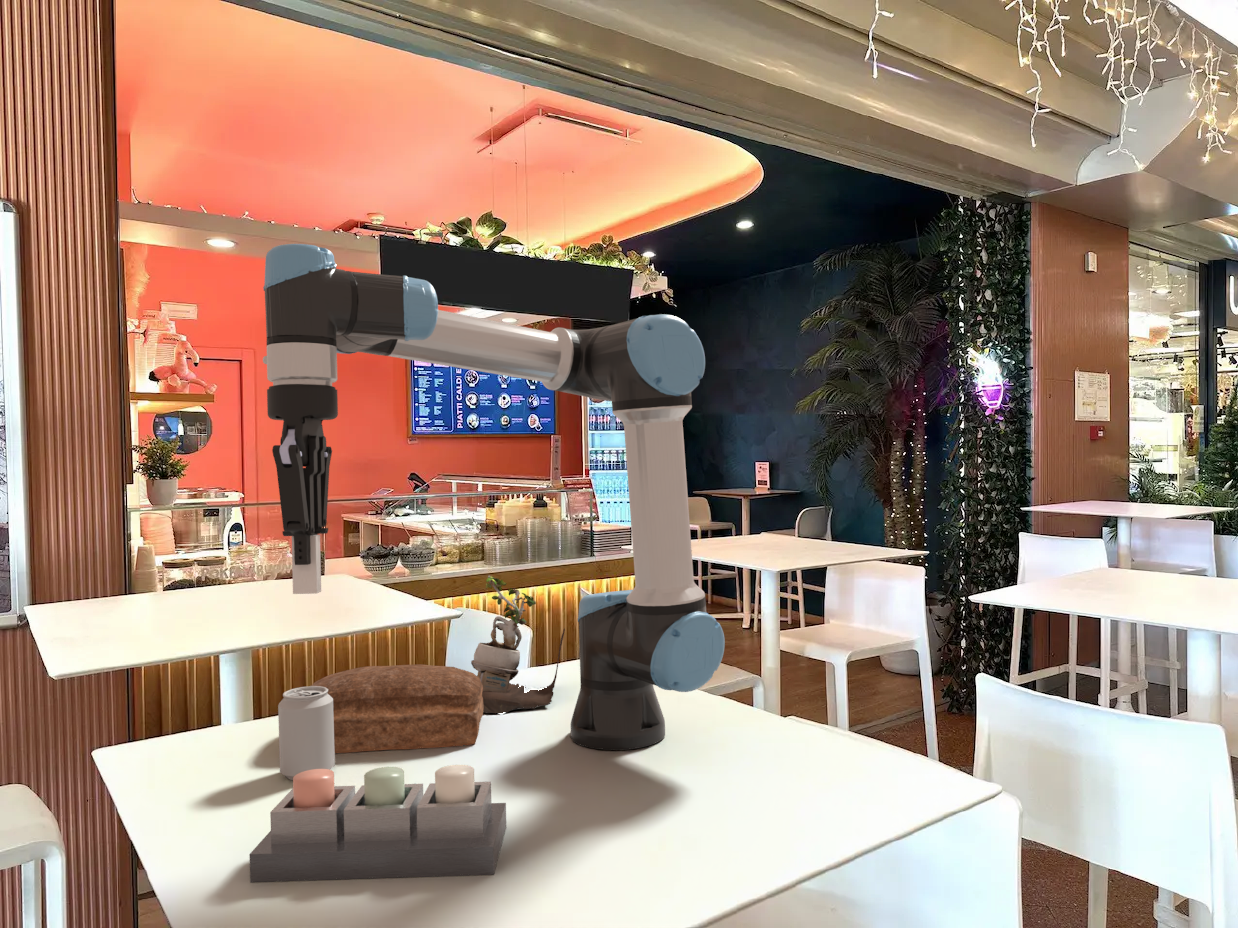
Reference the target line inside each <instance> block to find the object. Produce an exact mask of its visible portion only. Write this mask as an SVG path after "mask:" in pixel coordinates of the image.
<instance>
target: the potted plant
mask: <svg viewBox="0 0 1238 928" xmlns="http://www.w3.org/2000/svg"><path fill="white" fill-rule="evenodd" d="M485 581H486V583H485V589H486V590H487V589H488V588H493V589H494V590H495V592H497V594H498V596H497V595H493V596H491V599H492V600H495V601H496V600H497V601H496V602H497V605H501V604H502V601H505V602H506V605H505V608H504V610H503V612H504V613H505V614H504V617H502V616H500V615H498V616H495V618H494V620H493V623H492V629H491V632H490V638H491V641H490V642H479V643H478V644H477V646H476V649H475V650H474V654H473V660H471V661H470V662H471V663H470V664H471V666H472V668H473V669H474V670H476V671H477V675H476V676H478V677H479V678H480V680H481V683H482V686H483V692H482V697H483V705H484V709H483V713H485V714H496V713H503V712H507V713H509V712H510V711H514V710H520V709H533V710H535V709H536V708H537V707H538V708H539V707H542V706H543V707H544V706H548V705H551V703H552V702H553V700H552V699H553V697H554V691H553V690H554V688H555V684H556V680H557V676H558V675H557V674H558V668H559V660H560V655H561V652H562V651H561V650H562V645H563V640H564V635H565V631H566V629H565V627H564V628H563V631H562V634H561V638H560V643H559V649H558V654H557V655H558V656H557V663H556V669H555V673H554V678H553V681H552V682H551V683H550V684H549V685H547V686H546V687H547V688H545V687H543V688H544V689H542V690H539V691H538V690H530V691H529V692H527V693H524V686H523V685H521V687H519V685H520V684H519V683H516V685H515V683H510V681H512V680H513V679H514V678H515V677H516V676H517V675H518V674H519V669H517V668H518V667H519V666H520V661H521V652H520V650H519V649H517V648H519V645H520V642H521V641H522V638H523V636H522V633H521V630H520V629H519V625H520V626H521V625H522V626H523V625H525V624H526V623H527V620H526V619H525V618H524V617H522V615H523V612H526V609H525V608H524V606H525V604H527V606H528V607H529V608H531V607H532V606H535V605H536V604H537V602H536V601H535V600H534V597H533V596H531V595H530V596H529V595H528V594H526V593H524V592H520V590H518V589H517V588H514V587H513V588H512V587H508V589H507V592H508V596H511V595H514V598H512V601H511V602H510V600H508V599H507V598H506V596H505V595H503V593H502V592H501V591H502V590H503V589H502V586H507V582H504V580H503V579H499V578H497V577H493V576H492V575H488V576H487V578H486V579H485ZM520 593H521V594H522V595H523V597H524V598H523V597H521V596H519V595H520ZM520 600H521V602H519V601H520ZM525 600H526V601H525ZM518 603H520V608H519V607H518V606H517V604H518ZM510 606H511V607H510ZM508 617H510V619H509V620H508V619H507V618H508ZM521 617H522V618H521ZM497 630H499V631H502V636H503V642H499V641H497V639H496V638H497ZM518 687H519V688H518Z"/></svg>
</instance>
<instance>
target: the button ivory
mask: <svg viewBox="0 0 1238 928" xmlns="http://www.w3.org/2000/svg"><path fill="white" fill-rule="evenodd" d="M434 780H435V781H434V783H435V794H436V804H439V803H471V802H475V783H474V782H475V768H474V767H473V766H471V765H469V764H467V765H466V764H451V765H446V766H443V767H440V768H438V769H437V770H436V771H435V772H434Z"/></svg>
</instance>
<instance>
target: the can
mask: <svg viewBox="0 0 1238 928" xmlns="http://www.w3.org/2000/svg"><path fill="white" fill-rule="evenodd" d="M327 692H328V689H327V688H326V687H321V686H312V685H310V686H300V687H295V688H291V689H289V690H286V691H284V692H283V693H282V697H283V698H282V699H281V701H280V702H279V703H278V705H277V707H278V708H277V710H278V711H277V713H278V714H277V715H278V717H277V718H278V745H279V746H278V747H279V772H280V774H282V775H283V776H284V777H285V778H286V779H288V780H290V781H293V777H294V776H295V775H296V774H298V773H301V772H304V771H307V770H312V769H329V770H332V769H333V768H334V767H335V764H336V753H335V749H334V713H333V698H332V697H331V696H330V695H329V694H328V693H327Z"/></svg>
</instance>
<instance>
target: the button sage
mask: <svg viewBox="0 0 1238 928" xmlns="http://www.w3.org/2000/svg"><path fill="white" fill-rule="evenodd" d="M363 779H364V780H363V783H364V784H363V785H364V790H365V806H373V805H402V804H403V803H404V801H405V787H404V784H405V770H404V769H403V768H402V767H398V766H383V767H377V768H374V769H371V770H368V771H367V772H365V773H364V775H363Z"/></svg>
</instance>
